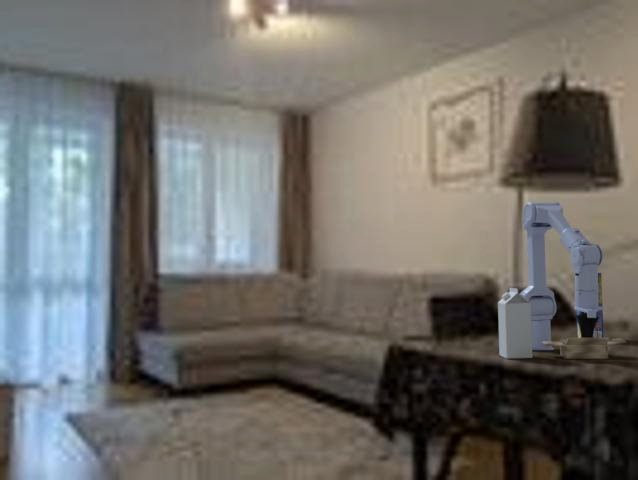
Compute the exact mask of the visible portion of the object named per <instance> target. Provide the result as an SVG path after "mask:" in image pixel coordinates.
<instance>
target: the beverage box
mask: <svg viewBox="0 0 638 480" xmlns="http://www.w3.org/2000/svg"><path fill="white" fill-rule="evenodd" d="M602 277H603V276H602V272H598V307H603V285H602V283H603V282H602V281H603V280H602ZM603 310H604V309H603ZM603 310H599V311H597V312H596V314H597V315H598V316H599V319H598V321H597V323H596V325H595V328H594V332H593V337H592V338H604V315H603V314H604V313H603ZM575 311H576V315H581V314H582V312H581V311H577V310H575ZM576 335H577V337H576V338H581V333H580V328H579V325H578V322H577V321H576Z"/></svg>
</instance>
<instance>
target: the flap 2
mask: <svg viewBox="0 0 638 480" xmlns="http://www.w3.org/2000/svg"><path fill="white" fill-rule="evenodd" d="M621 344H627V341H626V340H624V339H622V338H620V337H619V338H612V339H609V341H608V343H607V346H612V345H621Z"/></svg>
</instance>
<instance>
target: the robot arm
mask: <svg viewBox="0 0 638 480" xmlns="http://www.w3.org/2000/svg"><path fill="white" fill-rule="evenodd" d="M522 224H523V225H522V227H523V228H522V229H523V230H525V232H526V253H527V256H526V259H527V277H528V278H527V279H528V280H527V281H528V283H527V284H528V285H527V287H526V288H524V289H523V290H522V291H521V292H519V294H520V295H522V296H523V297H524V298H525V299H526V300H528V301H529V302H530V303H531V325H532V351H555V348H554V346H545V345H544V344H543V343H542V341H552V335H551V333H552V332H551V331H552V329H551V320H553V317H554V316H555V315H556V312H557V303H556V300H555V292H554V291H553V290H551V289H550V288H549V287H547V268H546V246H545V245H546V244H545V234H546V233H547V231H549V230H551V229H554V230H555V231H556V232H557V233H558V234H559V235H560V237H559V241H560V243H561V244H562V245H563V247H564V248H565V249H566V251H567V252H568V253H569V260H570V263H571V266H572V273H574V308H573V309H574V311H576V310H577V311H581V312H582V314H581V315H577V314H574V317H575V320H576V323H577V322H578V325H579V328H580V333H581V338H592V337H593V332H594V328H595V325H596V323H597V321H598V319H599V316H598V315H597V314H596V312H597V311H599V310H604V307H603V306H602V307H598V273H599V266H600V265H601V264H602V262H603V257H604V256H603V250H602V248H601V247H600V245H599V244H597V243H593V242H590V241H589V240H588V239H587V238H586V237H585V235H583V233H582V231H581V230H580V229H579V228H577V227H572V226H571V225H570V223H569V221H567V219H566V217H565V215H564V207H563V206H562V205H561V203H560V202H558V201H541V202H540V201H539V202H538V201H535V202H533V201H528V202H527V203H526V204H525V205H524V207H523V208H522Z"/></svg>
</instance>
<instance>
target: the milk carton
mask: <svg viewBox="0 0 638 480" xmlns="http://www.w3.org/2000/svg"><path fill="white" fill-rule="evenodd" d="M497 309H498V310H497V312H498V345H499V347H498V349H499V350H498V351H499V356H501V357H503V358H504V359H509V360H510V359H533V350H532V325H531V303H530V302H529V301H528V300H526V299H525V298H524V297H523V296H522V295H520V292H519V289H518V288H514V287H509V292H508V291H507V292H504V293H503V295H501V299H500V300H499V301H498V302H497Z"/></svg>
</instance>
